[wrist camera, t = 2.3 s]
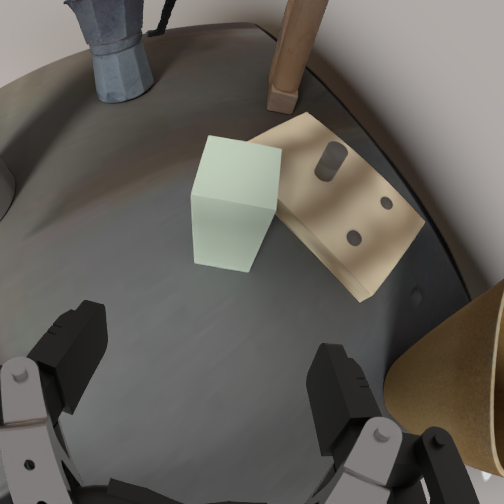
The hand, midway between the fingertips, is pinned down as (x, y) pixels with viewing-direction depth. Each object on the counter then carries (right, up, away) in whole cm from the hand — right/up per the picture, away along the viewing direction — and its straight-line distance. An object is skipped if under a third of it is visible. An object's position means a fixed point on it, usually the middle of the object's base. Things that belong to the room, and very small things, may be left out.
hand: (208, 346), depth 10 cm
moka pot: (-17, +28, +25) cm, 41 cm away
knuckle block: (-1, +4, +18) cm, 18 cm away
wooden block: (+6, +27, +29) cm, 40 cm away
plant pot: (+18, -11, +15) cm, 26 cm away
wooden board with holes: (+10, +9, +22) cm, 26 cm away
